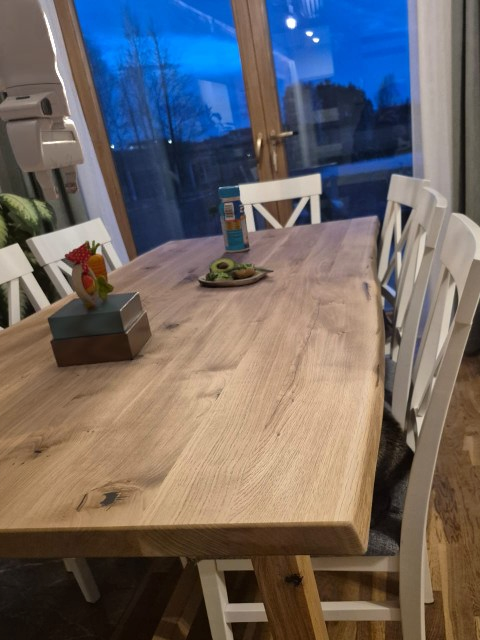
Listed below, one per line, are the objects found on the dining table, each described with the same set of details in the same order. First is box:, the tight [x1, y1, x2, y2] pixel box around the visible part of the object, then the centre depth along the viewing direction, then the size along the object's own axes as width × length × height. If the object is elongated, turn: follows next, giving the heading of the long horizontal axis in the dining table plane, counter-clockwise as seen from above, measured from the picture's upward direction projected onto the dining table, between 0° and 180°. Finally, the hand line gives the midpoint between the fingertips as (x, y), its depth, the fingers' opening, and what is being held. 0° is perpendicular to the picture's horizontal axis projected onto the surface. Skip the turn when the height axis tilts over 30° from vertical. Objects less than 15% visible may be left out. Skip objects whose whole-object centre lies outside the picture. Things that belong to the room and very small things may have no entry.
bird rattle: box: [64, 242, 115, 308], centre depth 105 cm, size 6×11×9 cm
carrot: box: [84, 239, 109, 283], centre depth 146 cm, size 5×5×15 cm
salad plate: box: [197, 257, 274, 288], centre depth 153 cm, size 19×18×5 cm
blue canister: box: [217, 185, 251, 254], centre depth 188 cm, size 8×8×20 cm
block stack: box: [47, 291, 152, 368], centre depth 109 cm, size 14×14×9 cm
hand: (63, 196), depth 100 cm, fingers open, 8 cm apart
